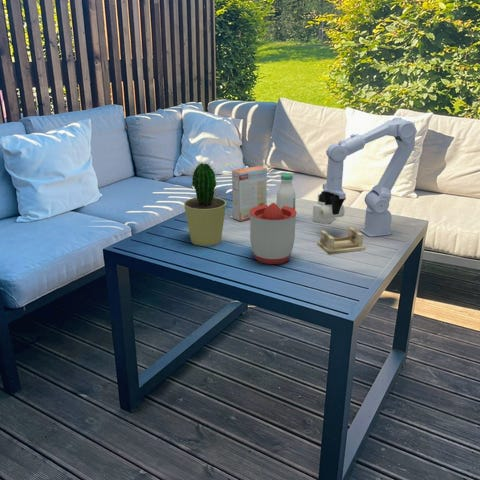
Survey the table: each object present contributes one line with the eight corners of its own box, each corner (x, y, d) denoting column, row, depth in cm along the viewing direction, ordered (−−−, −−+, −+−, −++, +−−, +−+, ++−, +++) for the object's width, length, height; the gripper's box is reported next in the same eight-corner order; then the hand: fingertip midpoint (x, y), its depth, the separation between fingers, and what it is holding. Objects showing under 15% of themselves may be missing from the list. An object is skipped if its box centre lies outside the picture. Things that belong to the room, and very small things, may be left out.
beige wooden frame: (317, 244, 187) (317, 230, 185) (351, 239, 191) (352, 226, 189) (329, 254, 178) (330, 239, 176) (364, 249, 182) (366, 235, 180)
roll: (337, 213, 196) (339, 201, 194) (343, 218, 192) (345, 206, 190) (318, 215, 194) (319, 203, 192) (324, 220, 190) (325, 208, 187)
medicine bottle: (335, 219, 212) (337, 191, 208) (328, 224, 206) (330, 196, 202) (319, 216, 216) (320, 189, 211) (312, 221, 210) (313, 193, 206)
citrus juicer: (296, 249, 183) (298, 195, 175) (292, 269, 167) (295, 211, 159) (253, 246, 185) (254, 193, 178) (245, 265, 169) (246, 208, 162)
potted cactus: (235, 240, 191) (235, 161, 179) (205, 251, 180) (203, 168, 169) (207, 230, 200) (205, 154, 189) (177, 240, 190) (173, 161, 179)
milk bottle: (289, 226, 204) (291, 178, 197) (272, 223, 208) (273, 175, 201) (297, 221, 210) (299, 173, 203) (281, 217, 214) (282, 171, 207)
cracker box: (258, 212, 221) (259, 165, 213) (267, 216, 216) (268, 167, 208) (231, 218, 213) (231, 169, 206) (239, 222, 209) (239, 172, 201)
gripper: (316, 173, 192) (314, 207, 197) (334, 182, 179) (331, 219, 184) (333, 171, 194) (330, 205, 199) (351, 181, 181) (348, 217, 186)
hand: (332, 211), depth 192 cm, fingers closed on roll, 5 cm apart
